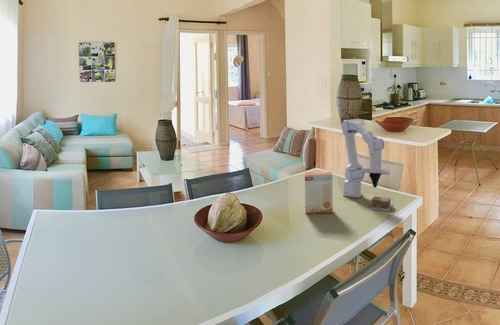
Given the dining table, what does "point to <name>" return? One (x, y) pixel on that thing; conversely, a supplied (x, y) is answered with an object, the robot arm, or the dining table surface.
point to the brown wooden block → (380, 202)
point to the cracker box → (318, 192)
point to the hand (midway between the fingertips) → (375, 186)
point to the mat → (383, 208)
